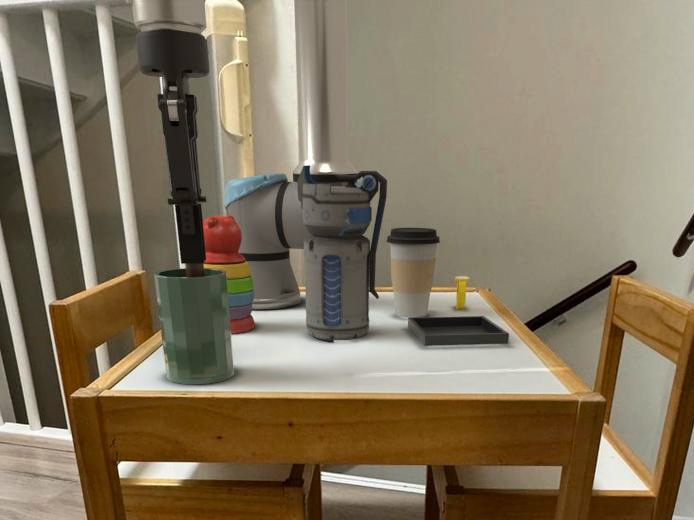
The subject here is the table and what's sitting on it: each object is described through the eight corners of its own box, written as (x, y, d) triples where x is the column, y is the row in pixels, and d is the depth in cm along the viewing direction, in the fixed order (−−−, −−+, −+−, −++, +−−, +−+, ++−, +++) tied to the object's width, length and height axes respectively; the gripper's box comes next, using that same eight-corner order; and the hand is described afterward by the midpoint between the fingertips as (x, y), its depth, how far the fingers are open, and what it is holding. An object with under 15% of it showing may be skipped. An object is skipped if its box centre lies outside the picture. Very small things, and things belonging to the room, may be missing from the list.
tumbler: (171, 367, 91) (159, 268, 86) (235, 365, 92) (227, 267, 87) (163, 385, 83) (149, 278, 78) (232, 383, 85) (224, 277, 79)
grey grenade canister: (379, 345, 103) (383, 166, 92) (296, 341, 105) (289, 165, 94) (386, 330, 112) (390, 165, 101) (309, 327, 114) (305, 165, 103)
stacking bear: (225, 318, 120) (216, 211, 112) (270, 325, 115) (264, 214, 107) (181, 330, 111) (169, 215, 103) (228, 337, 107) (218, 218, 99)
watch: (452, 305, 132) (454, 274, 129) (466, 306, 132) (468, 275, 129) (453, 311, 127) (455, 279, 124) (468, 312, 126) (470, 279, 124)
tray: (407, 329, 113) (408, 317, 112) (482, 327, 115) (483, 315, 114) (424, 348, 101) (425, 335, 100) (508, 346, 103) (509, 333, 102)
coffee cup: (443, 320, 119) (448, 231, 113) (392, 322, 117) (395, 232, 111) (426, 310, 128) (430, 226, 121) (379, 312, 126) (380, 227, 119)
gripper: (145, 42, 78) (170, 254, 88) (121, 18, 64) (153, 271, 75) (211, 44, 79) (227, 253, 89) (200, 20, 65) (221, 270, 76)
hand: (193, 261), depth 82 cm, fingers closed on brush, 2 cm apart
